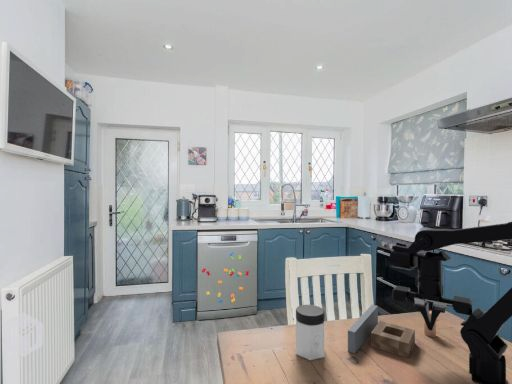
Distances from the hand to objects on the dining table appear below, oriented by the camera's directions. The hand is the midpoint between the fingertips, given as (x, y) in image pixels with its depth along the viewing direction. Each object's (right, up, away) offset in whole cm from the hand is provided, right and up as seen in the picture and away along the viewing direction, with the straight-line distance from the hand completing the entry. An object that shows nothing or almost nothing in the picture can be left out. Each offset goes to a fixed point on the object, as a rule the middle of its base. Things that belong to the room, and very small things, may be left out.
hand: (430, 329), depth 78 cm
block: (-8, -7, +6) cm, 12 cm away
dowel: (+7, -8, +12) cm, 16 cm away
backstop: (-14, -8, +11) cm, 20 cm away
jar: (-33, -8, +2) cm, 34 cm away
